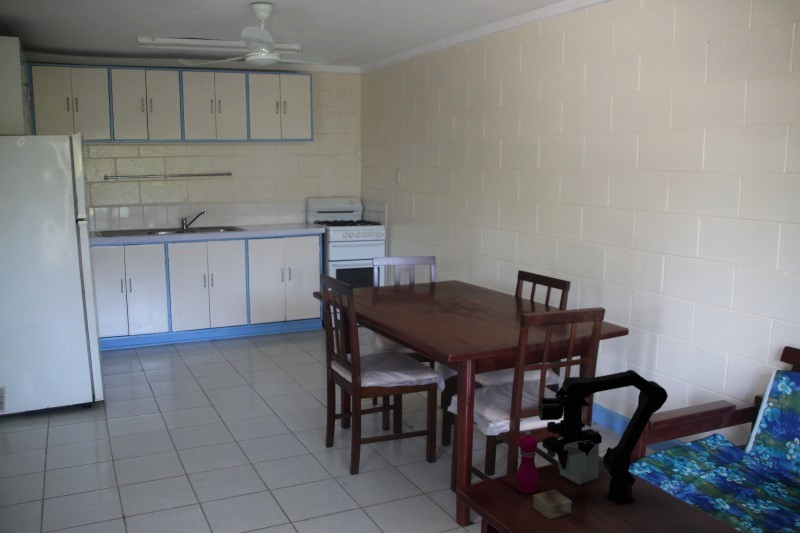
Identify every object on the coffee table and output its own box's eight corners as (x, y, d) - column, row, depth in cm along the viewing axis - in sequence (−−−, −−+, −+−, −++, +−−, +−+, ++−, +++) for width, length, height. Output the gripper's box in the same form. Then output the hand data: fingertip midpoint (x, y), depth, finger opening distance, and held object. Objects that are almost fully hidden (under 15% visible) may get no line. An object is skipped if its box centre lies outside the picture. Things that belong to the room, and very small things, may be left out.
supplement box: (578, 467, 233) (579, 421, 231) (599, 477, 226) (600, 430, 223) (558, 474, 228) (559, 427, 226) (579, 485, 221) (580, 436, 218)
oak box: (555, 501, 210) (555, 489, 210) (571, 513, 203) (572, 501, 202) (532, 507, 207) (532, 494, 206) (548, 519, 199) (549, 507, 199)
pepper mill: (543, 490, 217) (544, 431, 215) (527, 497, 213) (528, 437, 211) (527, 482, 223) (528, 425, 220) (511, 488, 219) (511, 430, 216)
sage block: (573, 464, 214) (573, 446, 213) (585, 471, 208) (586, 453, 207) (557, 467, 211) (558, 449, 210) (569, 475, 206) (570, 457, 205)
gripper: (580, 406, 218) (579, 451, 220) (532, 415, 211) (531, 462, 213) (603, 417, 208) (602, 465, 210) (553, 427, 201) (552, 476, 203)
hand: (571, 466), depth 209 cm, fingers closed on sage block, 6 cm apart
